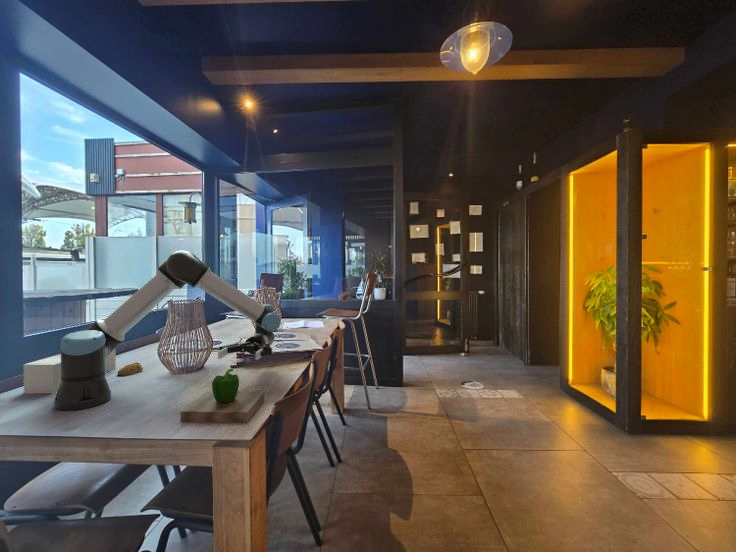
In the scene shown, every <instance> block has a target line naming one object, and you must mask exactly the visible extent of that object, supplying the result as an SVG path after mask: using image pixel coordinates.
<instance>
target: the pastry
mask: <svg viewBox="0 0 736 552" xmlns="http://www.w3.org/2000/svg"><path fill="white" fill-rule="evenodd" d="M143 369H144V367H143V365H142V364H141V363H140V362H133V363H131V364H126V365H125V366H124V367H122V368H120V369H119V370H118V371H117V376H125V375H126V376H129V375H134V374H139V373H141V372H142V371H143Z"/></svg>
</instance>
